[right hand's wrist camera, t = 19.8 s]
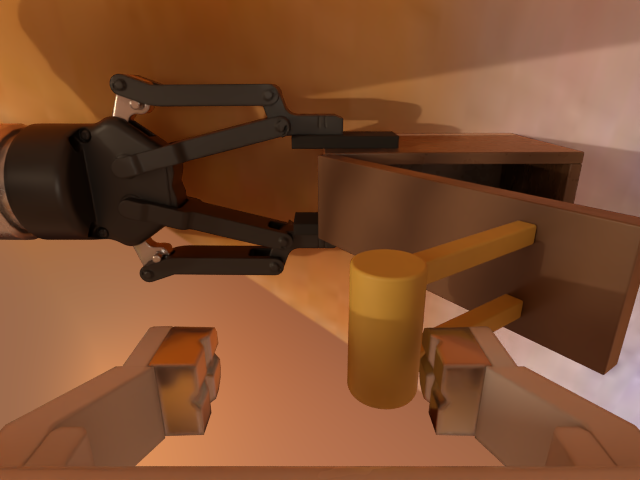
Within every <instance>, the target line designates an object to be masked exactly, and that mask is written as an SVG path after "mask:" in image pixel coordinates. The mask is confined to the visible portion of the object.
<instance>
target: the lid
mask: <svg viewBox="0 0 640 480" xmlns="http://www.w3.org/2000/svg"><path fill="white" fill-rule="evenodd" d="M318 238H320V239H322V240H324V241H326V242H328V243H330V244H332V245H334V246H336V247H338V248H340V249H342V250H345V251H347V252H349V253H351V254H353V255H355V256H354V257H353V258H352V260H351V262H350V285H349V330H348V376H347V377H348V378H347V383H348V388H349V390H350V392H351V394H352V395H353V396H354V397H355V398H356V399H357V400H358V401H360V402H361V403H363V404H365V405H367V406H370V407H374V408H378V409H395V408H399V407H402V406H404V405H406V404H408V403H409V402H410V401H411V400H412V399H413V398H414V396H415V395H416V392H417V384H418V373H419V369H420V359H421V357H422V356H423V355H424V354H425V350H424V348H423V345H422V336H423V333H422V330H423V319H424V308H425V297H426V290H428V291H430V292H432V293H434V294H436V295H438V296H440V297H442V298H444V299H446V300H448V301H451V302H453V303H455V304H457V305H459V306H461V307H463V308H465V309H467V310H469V311H468V312H466V313H464V314H462V315H460V316H458V317H456V318H453V319H451V320H449V321H447V322H445V323H443V324H441V325H438V326H436V327H434V328H445V327H478V326H487V327H489V328H490V329H491V330H492V331H493V332H494V331H496V330H498V329H500V328H502V327H505V328H507V329H509V330H511V331H513V332H515V333H517V334H519V335H521V336H523V337H525V338H528V339H530V340H532V341H534V342H536V343H538V344H540V345H542V346H544V347H546V348H548V349H550V350H552V351H555V352H557V353H559V354H561V355H563V356H565V357H567V358H569V359H571V360H573V361H575V362H577V363H579V364H582V365H584V366H586V367H588V368H590V369H592V370H594V371H596V372H598V373H600V374H603V375H604V374H606V373H607V372H608V371H609V370H610V369H612V368H613V367H614V366H615V365H616V364H617V362H618V359H619V355H620V352H621V348H622V345H623V341H624V338H625V334H626V331H627V327H628V324H629V320H630V317H631V313H632V310H633V306H634V303H635V299H636V296H637V292H638V289H639V285H640V217H635V216H631V215H626V214H621V213H616V212H611V211H606V210H601V209H597V208H592V207H587V206H582V205H577V204H572V203H567V202H563V201H558V200H553V199H548V198H543V197H538V196H533V195H528V194H524V193H519V192H514V191H509V190H504V189H499V188H494V187H490V186H485V185H480V184H475V183H470V182H465V181H460V180H456V179H451V178H446V177H441V176H436V175H431V174H426V173H422V172H417V171H412V170H407V169H402V168H397V167H392V166H388V165H383V164H378V163H373V162H368V161H363V160H358V159H353V158H349V157H344V156H339V155H334V154H326V155H319V156H318Z"/></svg>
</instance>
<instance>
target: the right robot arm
mask: <svg viewBox="0 0 640 480" xmlns="http://www.w3.org/2000/svg"><path fill="white" fill-rule="evenodd" d="M217 345H218V337H217V331H216V329H215V328H214V327H172V326H161V327H151V328H149V330H148V331H147V332H146V334H145V335H144V337H143V338H142V340H141V341H140V342H139V344H138V345H137V347H136V348H135V349H134V351H133V352H132V354H131V355H130V356H129V358H128V359H127V361H126V362H125V364H124V365H123V366H121V367H114V368H112V369H110V370H108V371H106V372H105V373H103V374H101V375H99V376H97V377H95V378H93V379H91V380H90V381H88V382H86V383H84V384H82V385H80V386H78V387H76V388H74V389H72V390H71V391H69V392H67V393H65V394H63V395H61V396H59V397H57V398H55V399H54V400H52V401H50V402H48V403H46V404H44V405H42V406H40V407H38V408H37V409H35V410H33V411H31V412H29V413H27V414H25V415H23V416H22V417H20V418H18V419H16V420H14V421H12V422H10V423H8V424H6V425H5V426H4V427H3V428H2V429H1V430H0V480H640V430H639V429H638V428H637V427H636V426H635V425H633V424H631V423H630V422H628V421H626V420H624V419H622V418H620V417H618V416H616V415H614V414H613V413H611V412H609V411H607V410H605V409H603V408H601V407H599V406H598V405H596V404H594V403H592V402H590V401H588V400H586V399H584V398H582V397H581V396H579V395H577V394H575V393H573V392H571V391H569V390H567V389H566V388H564V387H562V386H560V385H558V384H556V383H554V382H552V381H550V380H549V379H547V378H545V377H543V376H541V375H539V374H537V373H535V372H534V371H532V370H530V369H528V368H526V367H519V366H517V365H516V363H515V362H514V361H513V359H512V358H511V356H510V355H509V354H508V352H507V351H506V350H505V348H504V347H503V345H502V344H501V343H500V341H499V340H498V338H497V337H496V336H495V334H494V333H493V331H492V330H491V329H490V328H489V327H487V326H478V327H445V328H424V331H423V336H422V345H423V348H424V350H425V354H424V355H423V356H422V357H421V359H420V369H419V373H420V385H421V390H422V394H423V397H424V399H425V400H427V401H428V402H429V403H430V405H429V415H430V418H431V421H432V424H433V427H434V430H435V432H436V435H460V436H475V438H476V439H477V440H478V441H479V442H480V443H481V444H482V445H483V446H484V447H485V448H486V449H487V450H489V451H490V452H491V453H492V454H493V455H494V456H495V457H496V458H497V459H498V460H499V461H500V462H501V463H502V464H504V465H505V466H136V465H137V464H138V463H139V462H140V461H141V460H142V459H143V458H144V457H145V456H146V455H147V454H148V453H149V452H151V451H152V450H153V449H154V448H155V447H156V446H157V445H158V444H159V443H160V442H161V441H162V440H163V439H165V436H179V435H204V432H205V430H206V427H207V424H208V421H209V418H210V415H211V405H210V403H211V402H212V401H213V400H215V399H216V397H217V393H218V390H219V384H220V373H221V367H220V359H219V357H218V356H217V355H216V354H215V350H216V348H217Z"/></svg>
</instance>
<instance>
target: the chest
mask: <svg viewBox="0 0 640 480" xmlns="http://www.w3.org/2000/svg"><path fill="white" fill-rule="evenodd" d="M397 135H398V136H399V147H398V148H360V149H323V155H326V154H334V155H339V156H344V157H349V158H353V159H358V160H363V161H368V162H373V163H378V164H383V165H388V166H392V167H397V168H402V169H407V170H412V171H417V172H422V173H426V174H431V175H436V176H441V177H446V178H451V179H456V180H460V181H465V182H470V183H475V184H480V185H485V186H490V187H494V188H499V189H504V190H509V191H514V192H519V193H524V194H528V195H533V196H538V197H543V198H548V199H553V200H558V201H563V202H567V203H572V204H574V199H575V195H576V190H577V185H578V180H579V176H580V171H581V166H582V164H581V163H582V161H583V156H584V152H582V151H578V150H574V149H570V148H566V147H562V146H558V145H554V144H550V143H546V142H543V141H539V140H535V139H531V138H527V137H523V136H519V135H517V134H513V133H471V134H397Z"/></svg>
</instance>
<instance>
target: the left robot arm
mask: <svg viewBox="0 0 640 480" xmlns="http://www.w3.org/2000/svg"><path fill="white" fill-rule="evenodd" d="M110 87H111V90H112V91H113V92H114V93H115V94H116V97H115V102H114V108H113V113H112V116H110V117H106V118H104V119H103V120H101V121H100V122H98V123H95V124H32V125H29V126H27V125H24V124H0V239H2V240H33V239H37V238H41V239H47V240H96V239H112V240H116V241H118V242H120V243H122V244H125V245H128V246H133V247H134V249H135V251H136V253H137V255H138V256H139V258H140V260H141V262H142V264H143V267H142V268H141V270H140V276H141V278H142V279H143V280H144V281H146V282H153V281H156V280H159V279H162V278H165V277H168V276H171V275H174V274H198V275H279V274H280V273H282V271H283V269H284V265H285V262H286V260H287V257H288V255H289V253H290V252H291V251H292V250H293V249H296V248H335V247H336V246H334V245H332V244H330V243H328V242H326V241H324V240H322V239H320V238H318V212H296V213H295V219H294V223H293V221H291V220H289V222H288V223H287V222H283V221H279V220H275V219H271V218H267V217H262V216H258V215H254V214H250V213H246V212H242V211H237V210H233V209H229V208H225V207H221V206H217V205H212V204H208V203H204V202H202V201H201V200H199V199H197V198H193V197H189V196H186V190H185V188H184V185H183V182H182V173H183V162H186V161H190V160H193V159H197V158H201V157H205V156H209V155H213V154H217V153H220V152H224V151H228V150H232V149H236V148H240V147H243V146H247V145H251V144H255V143H259V142H263V141H267V140H270V139H274V138H278V137H284V136H292V149H360V148H398V147H399V136H398V135H397V134H395V133H393V132H343V118H342V117H340V116H338V115H335V114H295V113H292V112H291V111H289V109H288V108H287V106H286V104H285V101H284V99H283V96H282V92H281V89H280V88H279V87H278V86H277V85H274V84H202V85H163V84H161V83H158V82H155V81H152V80H150V79H147V78H144V77H141V76H139V75H129V74H116V75H113V76H112V77H111V79H110ZM155 106H263V107H264V110H265V112H266V115H267V118H263V119H259V120H256V121H252V122H248V123H244V124H240V125H237V126H233V127H229V128H225V129H222V130H218V131H214V132H210V133H206V134H203V135H199V136H195V137H191V138H186V139H183V140H179V141H175V142H171V143H167V142H165V141H164V140H162V139H161V138H159V137H158V136H156V135H155V134H153V133H152V132H151V131H149V130H148V129H146V128H145V127H143V126H142V125H140V124H139V123H137V122H136V121H134V118H135V116H136V115H137V114H146V113H150V112H152V111H153V109H154V107H155ZM165 226H167V227H172V228H176V229H181V230H187V229H193V230H197V231H202V232H206V233H210V234H214V235H219V236H223V237H227V238H232V239H236V240H240V241H244V242H249V243H253V244H257V245H261V246H204V245H188V246H179V247H175V248H172V245H171V244H169V243H157V242H155V241H154V240H152V238H151V236H153V235H154V234H155V233H157V232H158V231H159V230H160V229H162V228H163V227H165Z"/></svg>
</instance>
